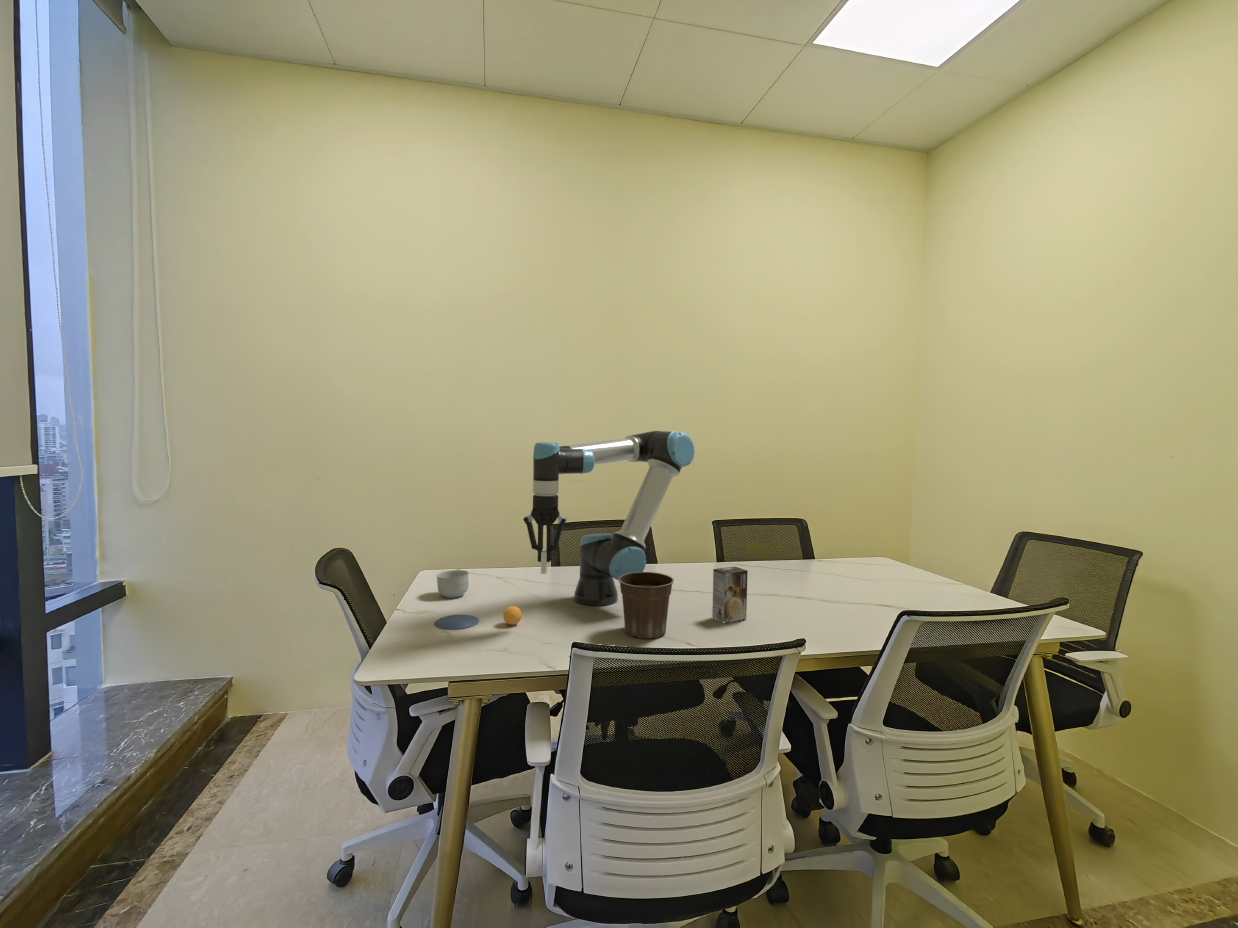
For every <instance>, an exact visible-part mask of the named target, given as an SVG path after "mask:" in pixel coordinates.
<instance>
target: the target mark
mask: <svg viewBox="0 0 1238 928" xmlns="http://www.w3.org/2000/svg"><path fill="white" fill-rule="evenodd" d="M479 622H480V620H479V618H478V616H475V615H471V614H463V613H462V614H451V615H446V616H442V617H439V618H438V619H436V620H435V621H434V626H435V627H436V628H438V629H442V630H449V631H450V630H453V631H454V630H455V631H456V630H463V629H465V630H466V629H469V628H472V627H474V626H475V627H476V625H478V624H479Z"/></svg>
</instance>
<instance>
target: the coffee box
mask: <svg viewBox="0 0 1238 928" xmlns="http://www.w3.org/2000/svg"><path fill="white" fill-rule="evenodd" d="M712 571H713V572H712V575H713V577H712V578H713V581H712V611H711V613H712V615H711V617H713V618H712V619H714V618H716V619H718V620H719V621H718V620H717V621H718V622H720V621H721V622H720V623H722V622H729V623H733V622H732V621H735V622H739V621H738V620H740V621H744V620H743V619H746V620H747V610H748V609H747V607H748V604H747V602H748V601H747V600H748V573H749V572H748V570H747V569H743V568H741V567H737V566H729V567H727V566H726V567H723V568H722V567H720V568H714V569H713V570H712ZM716 619H715V620H716Z"/></svg>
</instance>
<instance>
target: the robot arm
mask: <svg viewBox="0 0 1238 928" xmlns="http://www.w3.org/2000/svg"><path fill="white" fill-rule="evenodd" d="M532 454H533V455H532V459H533V461H532V462H533V463H532V464H533V469H532V475H533V476H532V477H533V478H532V494H533V495H532V509H531V512H530V514H529V515H527V516H524V518H523V523H525V525H526V527H527V534H528V538H529V541H530V542H529V543H530V545H531V549H532V550H535V551H537V562H538V563H540V574H543V575H544V574H545V575H546V574H547V573H548V571H549V570H548V568H549V565H548V564H549V563H550V562H551V561H552V551H556V550H557V548H558V547H559V542H560V539H561V535H562V532H563V528H564V525H565V523H566V522H567V520H568V519H567V517H564V516H563V515H561V514H560V511H559V496H558V493H559V476H560V475H563V474H566V475H567V474H580V475H581V474H582V475H583V474H588V473H591V472H592V471H593V470H594V468H595V465H602V464H608V463H609V464H610V463H616V462H622V461H628V462H630V463H635V462H637V463H638V462H639V463H640V462H644V463H648V467H649V468H648V470H647V472H646V475H645V477H644V479H643V481H642V483H641V485H640V487H639V489H638V491H637V494H636V496H635V498H634V500H633V502H632V504H631V506H630V509H629V511H628V513H627V515H626V517H625V520H624V522H623V523H622V526H621V529H620V530H618V531H615V532H614V533H607V532H606V533H605V532H604V533H590V534H585V535H583V536H581V537H580V543H579V554H580V555H579V578H578V581H577V585H576V587H575V590H574V597H573V598H574V601H575V602H577V603H578V604H581V605H585V606H593V607H594V606H596V607H597V606H609V605H612V604H615V603H616V602H617V601H618V597H619V596H618V590H617V586H616V584H615V580H616V581H619V580H618V578H619V577H620V576H622V575H624V574H628V573H633V572H645V568H646V565H647V560H646V557H647V556H646V553H645V551H646V549H647V546H646V544H645V539H646V537H647V536H648V533H649V530H650V528H651V526H652V524H653V522H654V520H655V517H656V515H657V513H658V510H659V508H660V506H661V504H662V502H663V499H664V497H665V495H666V493H667V491H668V488H669V486H670V484H671V481H672V479H673V478H674V477H677V476H678V477H679V475H680V473H681V470H682V468H685V467H687V466H689V465H690V464H691V463H692V462H693V460H694V457H695V446H694V441H693V440H692V438H691V437H690V435H688V434H687V433H685V432H682V431H677V430H674V431H668V430H667V431H665V430H663V431H662V430H651V431H646V432H641V433H638V434H637V433H636V434H628V435H626V436H625V438H620V439H612V440H604V441H596V442H595V441H594V442H587V443H579V444H577V443H576V444H570V445H569V444H568V445H561V446H560V444H559V443H558V442H547V441H546V442H536V443H535V444H534V447H533V453H532ZM533 521H535V523H536V524H537V538H536V535H535V530H534V525H533V523H532V522H533ZM556 521H557V523H558V525H557V529H556V532H555V536H554V541H553V524H554V523H555V522H556ZM544 526H545V527H544ZM544 528H546V546H545V547H546V549H544ZM614 579H615V580H614Z"/></svg>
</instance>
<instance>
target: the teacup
mask: <svg viewBox="0 0 1238 928" xmlns="http://www.w3.org/2000/svg"><path fill="white" fill-rule="evenodd" d="M469 574H470V572H469V571H468V570H464V569H460V568H458V569H451V570H446V571H441V572H439V573H437V574H436V582H437V583H436V585H437V590H438V593H439V594H440V595H441V596H442V597H444V598H446V599H447V598H448V599H449V598H450V599H451V598H452V599H454V598H458V597H459V598H460V597H462V596H464V595H465V593H466V592H467V591H468V590H469V586H470V584H469V583H470V582H469V581H470V579H469Z"/></svg>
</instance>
